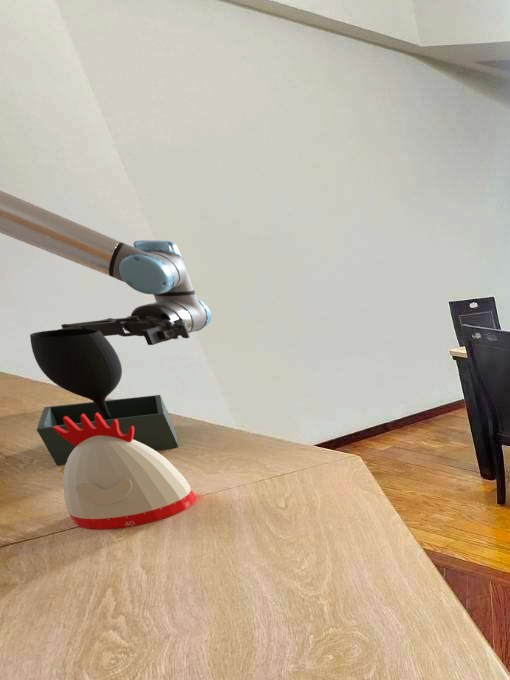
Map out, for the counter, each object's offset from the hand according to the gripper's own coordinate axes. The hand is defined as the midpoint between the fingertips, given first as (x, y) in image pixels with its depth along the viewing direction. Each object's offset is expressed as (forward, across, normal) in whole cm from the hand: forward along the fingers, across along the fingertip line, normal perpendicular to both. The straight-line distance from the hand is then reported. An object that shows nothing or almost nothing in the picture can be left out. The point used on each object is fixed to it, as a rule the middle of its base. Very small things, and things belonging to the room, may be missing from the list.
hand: (104, 338), depth 114 cm
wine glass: (+10, 0, -18) cm, 20 cm away
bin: (+10, 0, -18) cm, 20 cm away
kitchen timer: (+44, -18, -18) cm, 51 cm away
